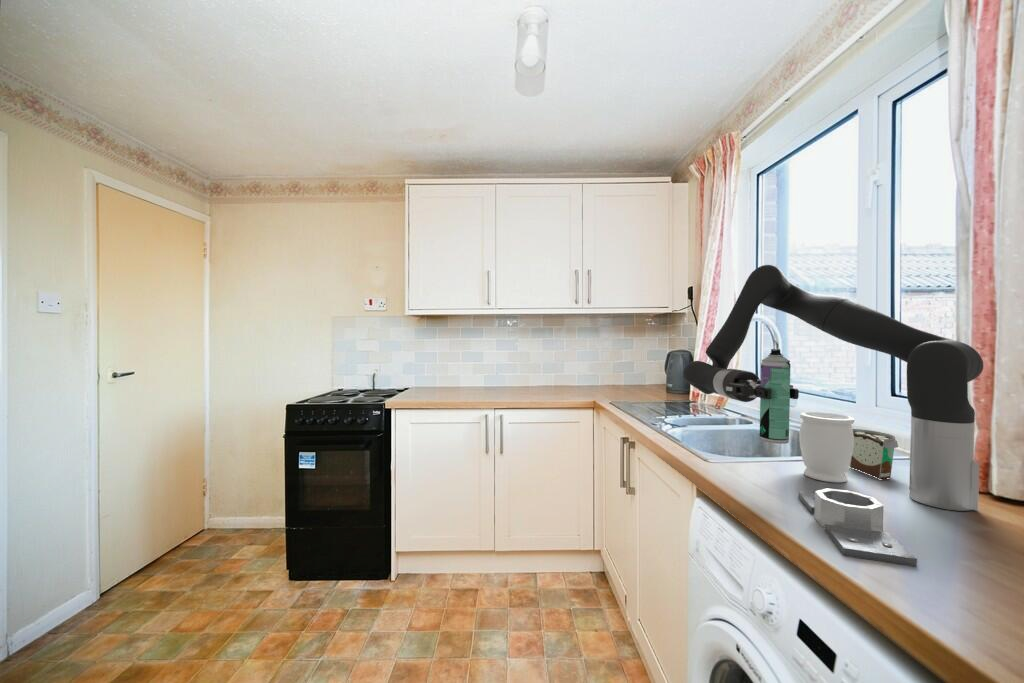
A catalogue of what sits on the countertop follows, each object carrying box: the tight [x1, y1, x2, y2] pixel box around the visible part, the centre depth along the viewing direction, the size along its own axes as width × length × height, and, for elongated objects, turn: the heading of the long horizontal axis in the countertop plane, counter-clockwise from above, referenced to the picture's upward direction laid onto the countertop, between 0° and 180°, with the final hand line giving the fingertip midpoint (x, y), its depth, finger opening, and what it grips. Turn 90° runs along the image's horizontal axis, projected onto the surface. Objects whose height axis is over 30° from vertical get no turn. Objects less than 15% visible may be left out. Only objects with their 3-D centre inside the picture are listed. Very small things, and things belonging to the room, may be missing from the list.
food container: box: [849, 428, 899, 479], centre depth 107 cm, size 12×6×10 cm, turn 179°
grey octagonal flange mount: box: [797, 487, 918, 568], centre depth 78 cm, size 9×26×5 cm, turn 160°
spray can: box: [759, 348, 791, 445], centre depth 94 cm, size 6×6×20 cm
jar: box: [798, 411, 855, 484], centre depth 104 cm, size 11×10×15 cm
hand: (783, 394), depth 92 cm, fingers closed on spray can, 5 cm apart
